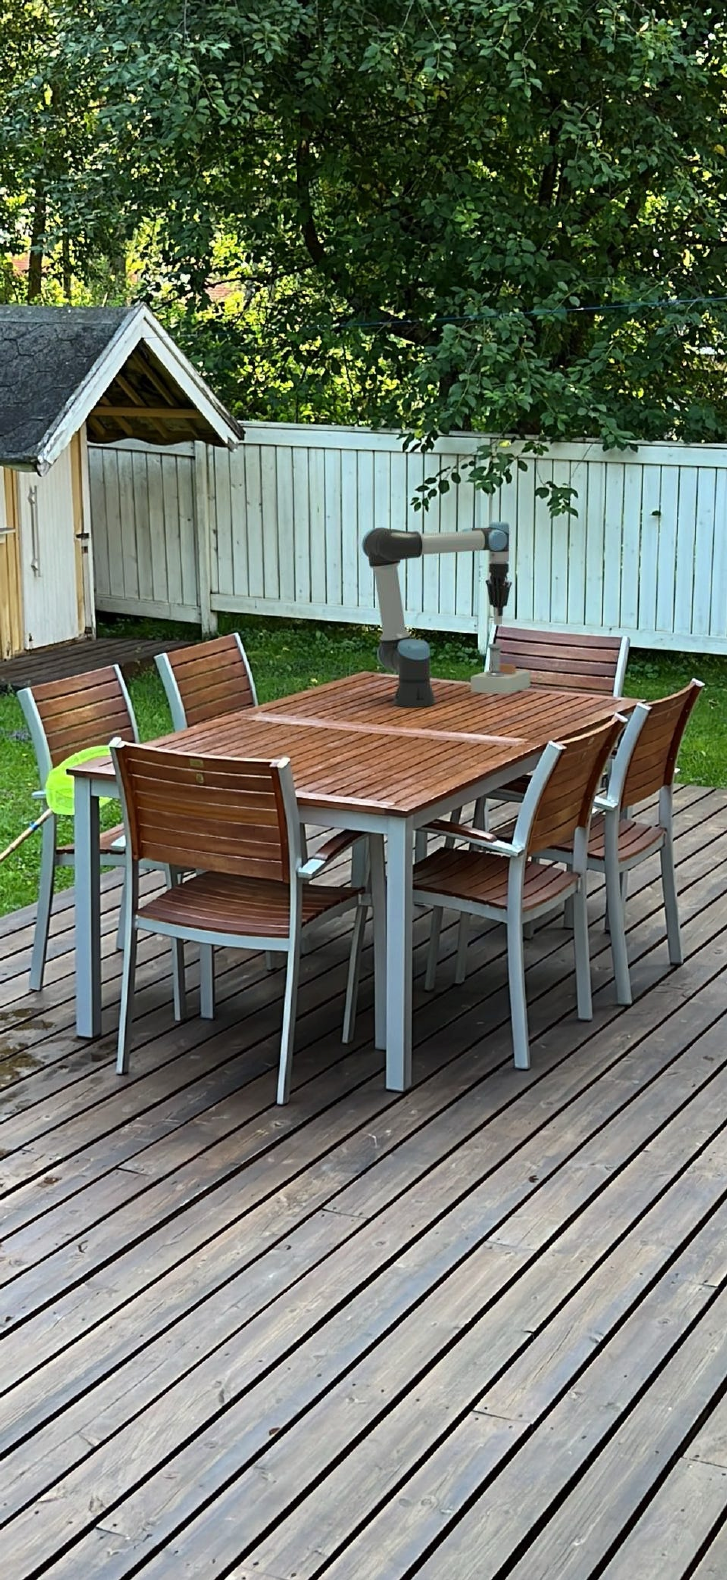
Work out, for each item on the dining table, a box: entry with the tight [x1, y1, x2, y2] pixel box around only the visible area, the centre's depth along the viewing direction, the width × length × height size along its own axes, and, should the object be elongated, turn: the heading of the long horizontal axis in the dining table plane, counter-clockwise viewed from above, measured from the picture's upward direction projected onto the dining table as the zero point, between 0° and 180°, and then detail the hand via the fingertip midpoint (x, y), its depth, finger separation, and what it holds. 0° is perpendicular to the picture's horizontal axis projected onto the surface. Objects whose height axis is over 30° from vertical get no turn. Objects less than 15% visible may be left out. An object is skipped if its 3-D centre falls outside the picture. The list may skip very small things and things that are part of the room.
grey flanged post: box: [485, 643, 504, 677], centre depth 687 cm, size 7×7×15 cm
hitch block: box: [470, 669, 531, 695], centre depth 693 cm, size 16×20×6 cm
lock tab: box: [500, 663, 517, 674], centre depth 694 cm, size 11×4×3 cm, turn 50°
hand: (498, 624), depth 689 cm, fingers closed
